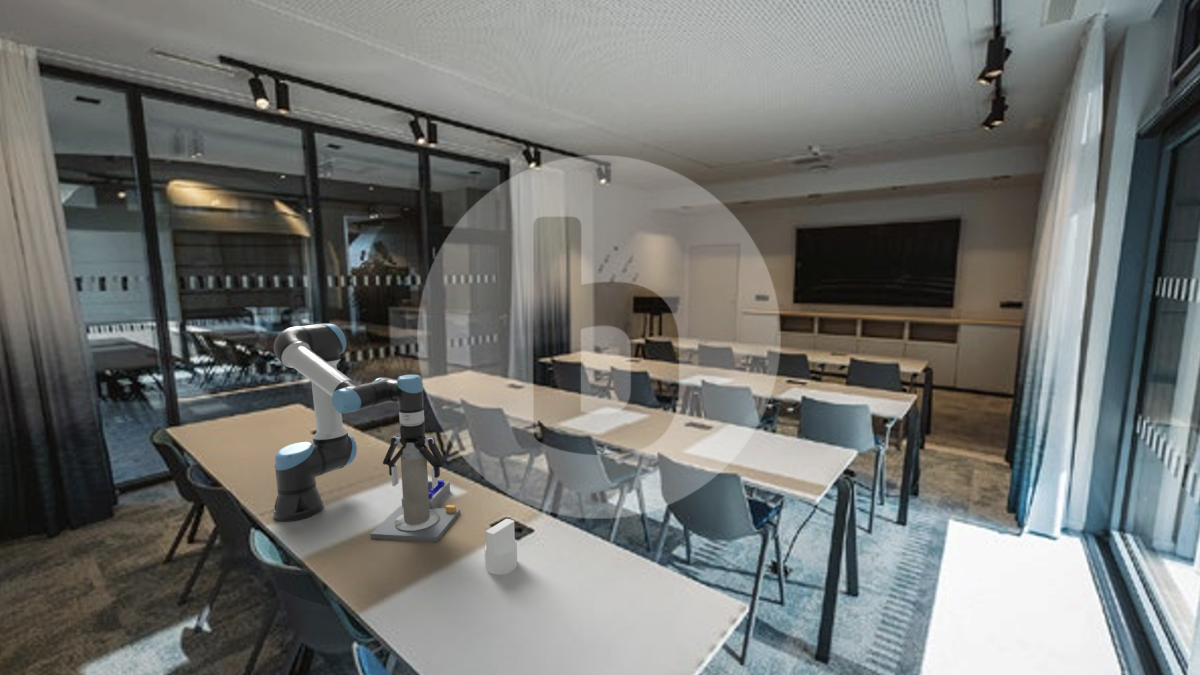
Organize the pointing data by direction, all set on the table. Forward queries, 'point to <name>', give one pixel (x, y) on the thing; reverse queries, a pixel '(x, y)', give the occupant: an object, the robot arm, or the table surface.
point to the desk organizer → (437, 494)
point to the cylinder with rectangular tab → (501, 548)
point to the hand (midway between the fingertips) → (415, 485)
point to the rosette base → (421, 532)
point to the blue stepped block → (434, 490)
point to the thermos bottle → (414, 485)
